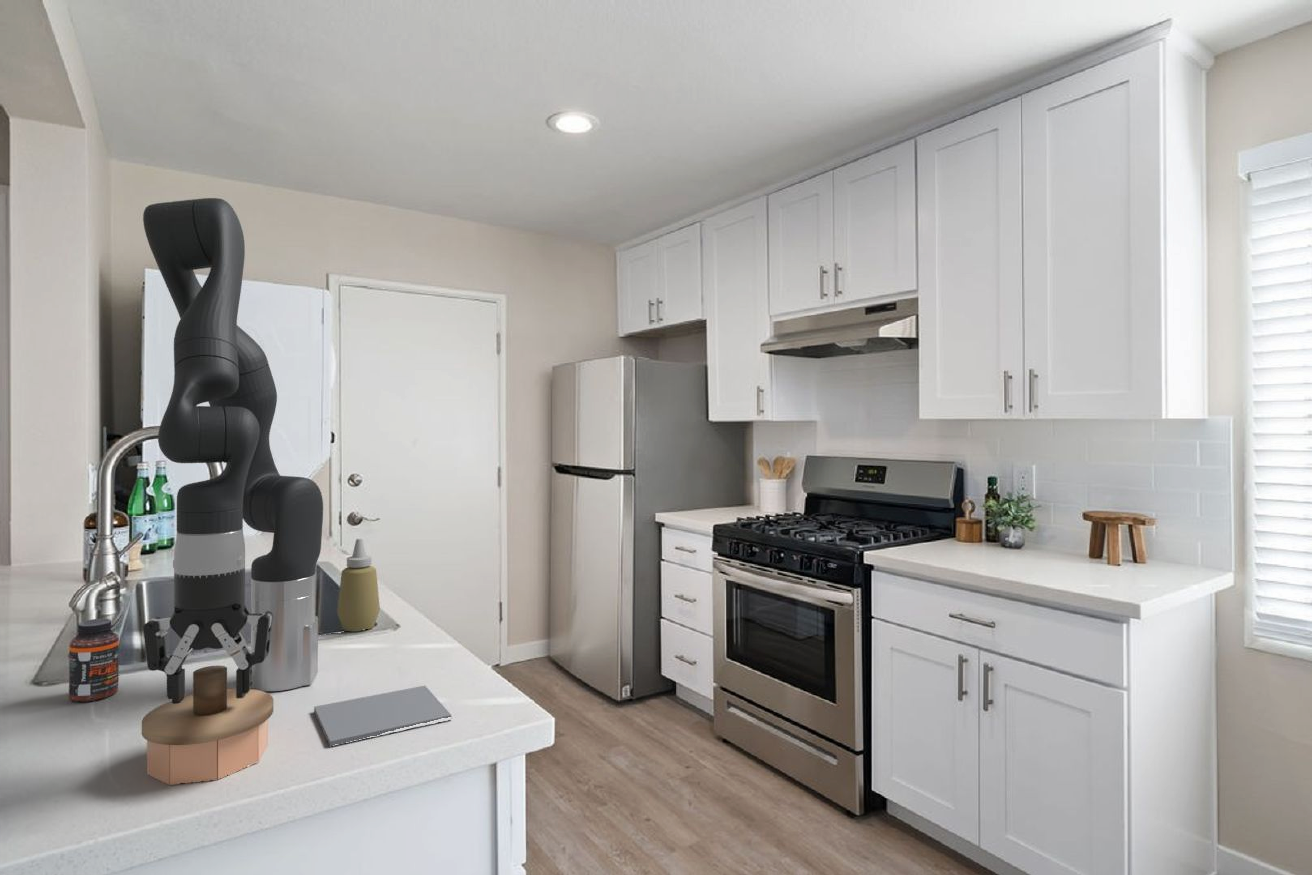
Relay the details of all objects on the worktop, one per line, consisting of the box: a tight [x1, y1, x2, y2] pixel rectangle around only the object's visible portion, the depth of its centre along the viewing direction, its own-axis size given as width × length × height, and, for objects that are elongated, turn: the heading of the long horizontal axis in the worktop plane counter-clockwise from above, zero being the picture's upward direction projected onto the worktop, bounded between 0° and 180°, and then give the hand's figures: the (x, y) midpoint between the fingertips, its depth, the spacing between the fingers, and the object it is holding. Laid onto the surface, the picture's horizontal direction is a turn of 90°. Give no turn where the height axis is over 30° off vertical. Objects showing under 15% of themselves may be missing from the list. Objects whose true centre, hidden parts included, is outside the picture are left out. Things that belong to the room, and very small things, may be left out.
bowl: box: [146, 718, 269, 786], centre depth 90 cm, size 12×12×5 cm
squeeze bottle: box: [336, 538, 381, 632], centre depth 145 cm, size 8×8×18 cm
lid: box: [141, 665, 274, 745], centre depth 90 cm, size 14×14×6 cm
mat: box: [313, 685, 452, 747], centre depth 104 cm, size 16×13×1 cm
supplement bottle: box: [68, 618, 120, 703], centre depth 109 cm, size 6×6×11 cm
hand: (210, 698), depth 90 cm, fingers open, 6 cm apart
